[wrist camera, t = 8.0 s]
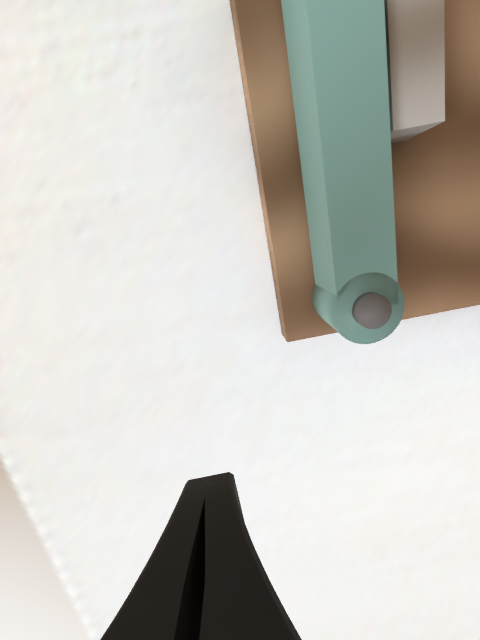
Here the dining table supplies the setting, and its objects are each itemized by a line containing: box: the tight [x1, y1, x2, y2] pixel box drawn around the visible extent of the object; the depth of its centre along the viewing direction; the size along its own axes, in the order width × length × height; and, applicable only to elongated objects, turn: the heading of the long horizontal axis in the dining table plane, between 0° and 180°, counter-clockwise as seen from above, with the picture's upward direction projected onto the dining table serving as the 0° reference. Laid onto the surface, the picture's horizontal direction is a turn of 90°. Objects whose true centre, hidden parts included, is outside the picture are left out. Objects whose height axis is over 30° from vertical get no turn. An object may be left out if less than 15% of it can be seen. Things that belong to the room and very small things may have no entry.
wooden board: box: [230, 0, 480, 342], centre depth 14 cm, size 16×18×4 cm
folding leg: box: [281, 0, 405, 344], centre depth 12 cm, size 14×3×4 cm, turn 10°
